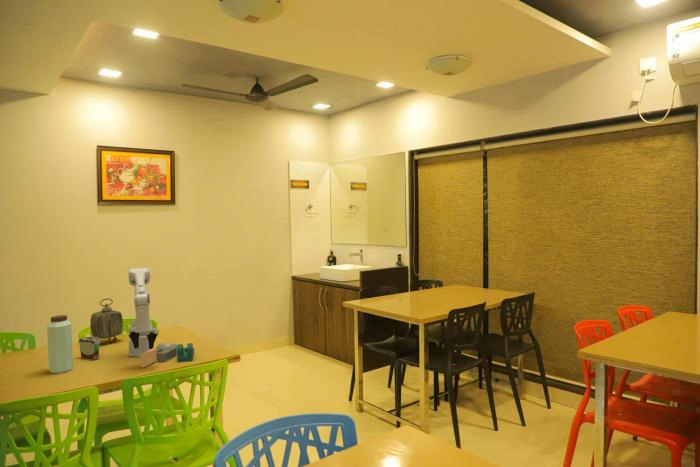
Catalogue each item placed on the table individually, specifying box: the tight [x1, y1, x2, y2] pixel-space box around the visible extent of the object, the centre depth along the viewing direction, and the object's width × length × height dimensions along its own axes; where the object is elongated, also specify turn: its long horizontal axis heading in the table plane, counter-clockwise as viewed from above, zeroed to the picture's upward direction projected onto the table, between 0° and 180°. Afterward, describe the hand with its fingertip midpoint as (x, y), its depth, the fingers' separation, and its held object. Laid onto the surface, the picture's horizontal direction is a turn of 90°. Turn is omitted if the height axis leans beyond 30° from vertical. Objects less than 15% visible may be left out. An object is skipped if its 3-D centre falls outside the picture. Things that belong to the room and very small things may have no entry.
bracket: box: [176, 342, 195, 363], centre depth 235 cm, size 18×7×8 cm, turn 15°
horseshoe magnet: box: [156, 342, 178, 363], centre depth 233 cm, size 13×10×6 cm
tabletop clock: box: [89, 298, 124, 345], centre depth 264 cm, size 14×9×25 cm, turn 144°
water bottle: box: [46, 314, 74, 375], centre depth 216 cm, size 10×10×25 cm
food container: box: [78, 336, 102, 361], centre depth 236 cm, size 12×6×10 cm, turn 65°
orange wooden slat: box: [139, 347, 157, 368], centre depth 222 cm, size 10×2×6 cm, turn 169°
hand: (143, 348), depth 219 cm, fingers open, 7 cm apart
